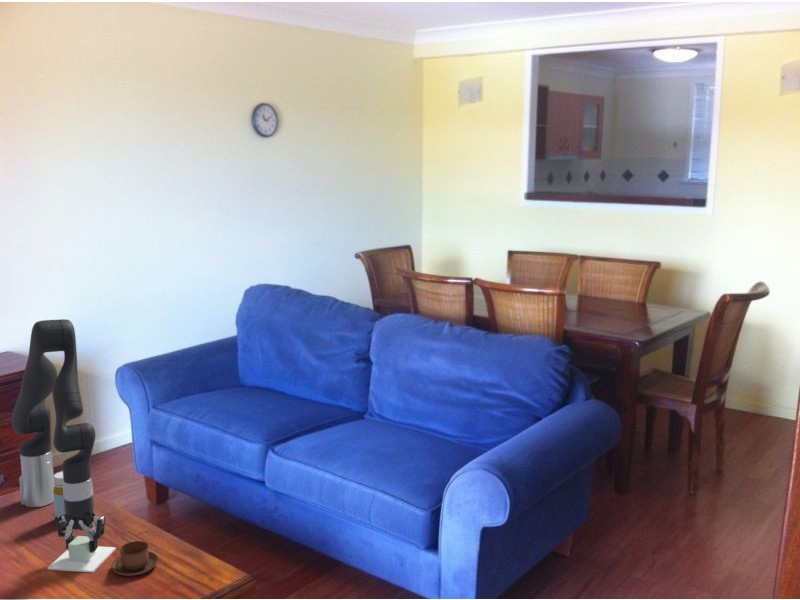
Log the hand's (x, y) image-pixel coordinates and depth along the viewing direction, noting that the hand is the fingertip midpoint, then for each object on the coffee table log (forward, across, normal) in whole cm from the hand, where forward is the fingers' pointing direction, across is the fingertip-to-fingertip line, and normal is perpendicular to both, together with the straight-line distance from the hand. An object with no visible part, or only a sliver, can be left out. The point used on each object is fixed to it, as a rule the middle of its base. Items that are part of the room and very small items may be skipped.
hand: (82, 550), depth 212 cm
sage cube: (+2, 0, 0) cm, 2 cm away
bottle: (+3, +17, -22) cm, 28 cm away
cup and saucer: (+3, -17, +3) cm, 17 cm away
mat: (+3, 0, 0) cm, 3 cm away
